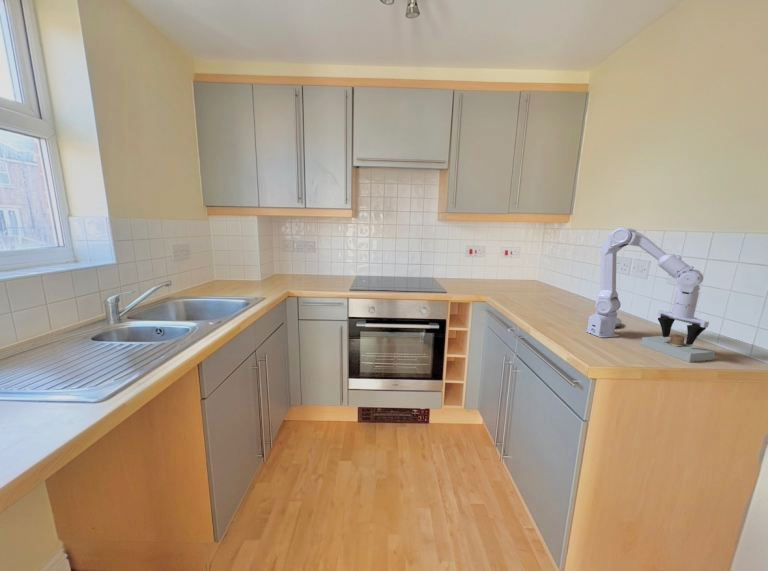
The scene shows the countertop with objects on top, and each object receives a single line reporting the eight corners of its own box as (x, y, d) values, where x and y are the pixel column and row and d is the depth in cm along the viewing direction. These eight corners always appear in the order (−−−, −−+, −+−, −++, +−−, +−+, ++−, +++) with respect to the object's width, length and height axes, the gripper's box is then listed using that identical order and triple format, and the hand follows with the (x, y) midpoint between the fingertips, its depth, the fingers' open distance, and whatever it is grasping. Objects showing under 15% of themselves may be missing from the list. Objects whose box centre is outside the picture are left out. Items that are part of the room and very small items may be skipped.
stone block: (620, 328, 147) (596, 319, 154) (624, 319, 146) (600, 310, 152) (615, 335, 139) (590, 325, 145) (620, 325, 137) (594, 316, 144)
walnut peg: (684, 353, 113) (687, 338, 111) (675, 354, 112) (678, 338, 111) (673, 349, 116) (676, 334, 115) (665, 350, 116) (668, 334, 115)
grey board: (689, 362, 105) (690, 353, 105) (640, 344, 120) (642, 337, 120) (713, 359, 108) (715, 351, 107) (662, 343, 123) (664, 335, 122)
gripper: (718, 308, 105) (709, 347, 107) (670, 298, 119) (663, 333, 121) (703, 309, 103) (694, 348, 106) (656, 299, 117) (649, 334, 120)
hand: (677, 340), depth 113 cm, fingers open, 7 cm apart
